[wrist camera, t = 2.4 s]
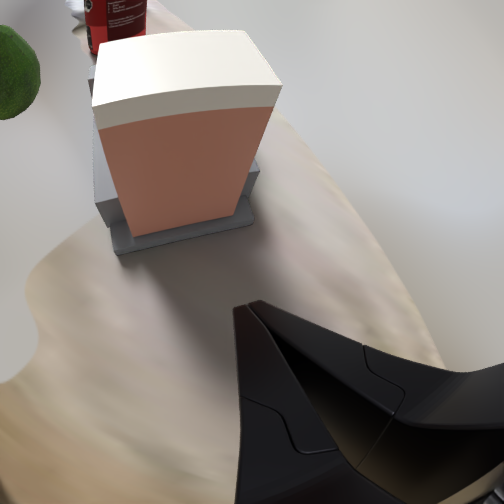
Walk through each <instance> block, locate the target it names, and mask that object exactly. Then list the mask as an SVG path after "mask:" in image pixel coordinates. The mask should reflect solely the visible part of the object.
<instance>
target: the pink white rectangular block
mask: <svg viewBox="0 0 504 504" xmlns="http://www.w3.org/2000/svg"><path fill="white" fill-rule="evenodd" d="M282 86H283V85H282V83H281V82H280V80H279V79H278V77H277V76H276V74H275V73H274V71H273V70H272V68H271V67H270V66H269V64H268V63H267V61H266V60H265V58H264V57H263V55H262V54H261V53H260V51H259V50H258V48H257V47H256V46H255V44H254V43H253V42H252V40H251V39H250V38H249V36H248V35H247V34H246V32H245V31H241V30H203V31H202V30H201V31H182V32H170V33H161V34H152V35H145V36H138V37H132V38H126V39H121V40H116V41H111V42H106V43H102V44H100V46H99V52H98V58H97V65H96V72H95V80H94V89H93V100H92V109H93V113H94V117H95V121H96V125H97V129H98V133H99V136H100V140H101V143H102V147H103V150H104V154H105V157H106V161H107V164H108V167H109V170H110V174H111V177H112V180H113V183H114V186H115V189H116V192H117V195H118V198H119V201H120V204H121V206H122V209H123V212H124V215H125V217H126V220H127V223H128V226H129V228H130V231H131V233H132V236H133V237H136V236H140V235H145V234H149V233H153V232H158V231H162V230H166V229H171V228H175V227H180V226H184V225H189V224H193V223H198V222H203V221H208V220H212V219H217V218H222V217H227V216H232V215H233V214H234V211H235V209H236V206H237V203H238V200H239V197H240V195H241V192H242V189H243V187H244V184H245V181H246V178H247V176H248V173H249V170H250V168H251V165H252V162H253V160H254V157H255V155H256V152H257V149H258V147H259V144H260V141H261V139H262V136H263V134H264V131H265V129H266V126H267V123H268V121H269V118H270V116H271V113H272V111H273V108H274V106H275V103H276V101H277V98H278V96H279V93H280V90H281V88H282Z"/></svg>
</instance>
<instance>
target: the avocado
mask: <svg viewBox="0 0 504 504" xmlns="http://www.w3.org/2000/svg"><path fill="white" fill-rule="evenodd" d="M40 84H41V81H40V64H39V61H38V59H37V56H36V54H35V51H34V50H33V49H32V48H31V47H30V46H29V45H28V43H27V42H26V41H25V40H24V39H23V38H22V37H21V36H20V35H18V34H17V33H16V32H15V31H14V30H13V29H12V28H10V27H8V26H6V25H0V120H6V119H10V118H14V117H15V116H17V115H19V114H20V113H22V112H23V111H25V110H26V109H27V108H28V107H29V106H30V105H31V103H33V101H34V99H35V97H36V95H37V93H38V91H39V87H40Z"/></svg>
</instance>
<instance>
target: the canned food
mask: <svg viewBox="0 0 504 504" xmlns="http://www.w3.org/2000/svg"><path fill="white" fill-rule="evenodd" d="M146 9H147V0H84V10H85V21H86V30H87V38H88V46H89V48H90V50H91V52H92V53H93V54H95V55H98V52H99V46H100V44H102V43H106V42H111V41H116V40H121V39H126V38H132V37H138V36H145V35H146Z"/></svg>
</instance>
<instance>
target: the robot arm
mask: <svg viewBox="0 0 504 504" xmlns="http://www.w3.org/2000/svg"><path fill="white" fill-rule="evenodd" d="M233 325H234V340H235V355H236V369H237V382H238V395H239V409H240V448H239V460H238V471H237V482H236V493H235V502H234V504H504V363H501V364H498V365H495V366H492V367H488V368H485V369H482V370H478V371H473V372H453V371H448V370H444V369H440V368H436V367H432V366H428V365H425V364H421V363H417V362H413V361H410V360H406V359H403V358H400V357H397V356H393V355H391V354H388V353H385V352H382V351H380V350H377V349H374V348H372V347H369V346H367V345H362V343H359V342H357V341H354V340H352V339H350V338H347V337H345V336H342V335H340V334H338V333H335V332H333V331H330V330H328V329H326V328H323V327H321V326H319V325H316V324H314V323H312V322H309V321H307V320H305V319H303V318H300V317H298V316H296V315H293V314H291V313H289V312H287V311H284V310H282V309H280V308H278V307H275V306H273V305H271V304H269V303H267V302H264V301H262V300H257V301H254V302H251V303H248V304H247V305H245V304H244V305H241V306H237V307H234V308H233Z"/></svg>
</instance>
